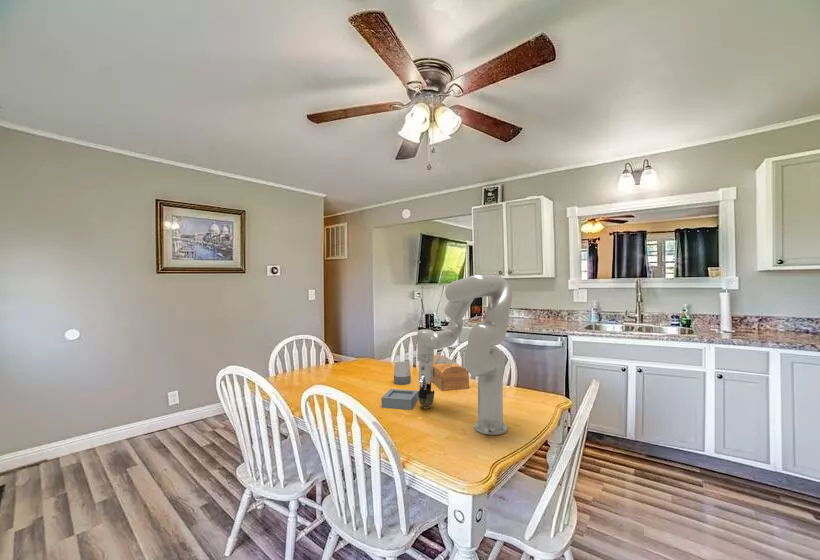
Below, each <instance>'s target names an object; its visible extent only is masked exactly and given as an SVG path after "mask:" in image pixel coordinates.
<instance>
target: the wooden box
mask: <svg viewBox="0 0 820 560" xmlns="http://www.w3.org/2000/svg"><path fill="white" fill-rule="evenodd" d="M469 374H470V373H469V372H468V370H467V368H466V367H464V366H461V365H460V364H459V363H457V362H456V361H454V360H452V359H450V358H448V357H447V356H445V355H441V354H434V361H433V380H432V382H431V383H432V384H434V385H435V386H436V387H437V388H438V389H439V390H440V391H441V392H449V391H459V390H469V388H470V376H469Z"/></svg>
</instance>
